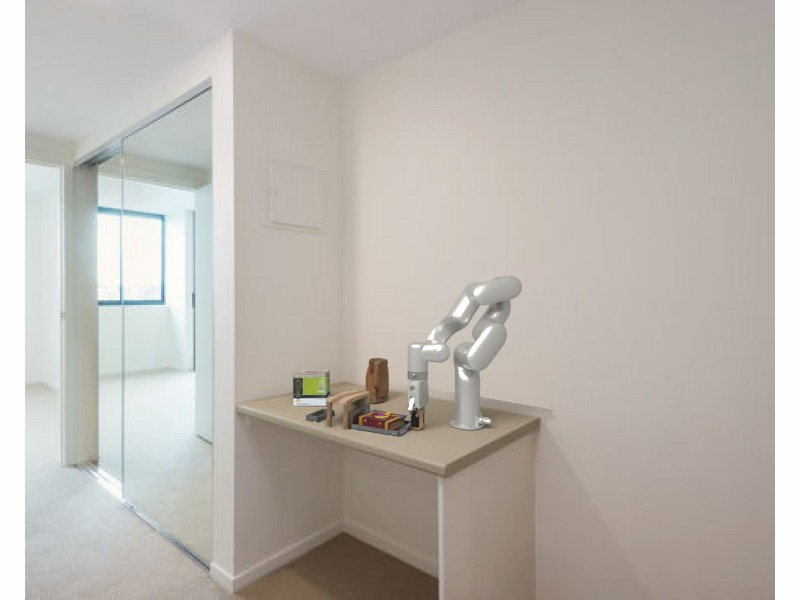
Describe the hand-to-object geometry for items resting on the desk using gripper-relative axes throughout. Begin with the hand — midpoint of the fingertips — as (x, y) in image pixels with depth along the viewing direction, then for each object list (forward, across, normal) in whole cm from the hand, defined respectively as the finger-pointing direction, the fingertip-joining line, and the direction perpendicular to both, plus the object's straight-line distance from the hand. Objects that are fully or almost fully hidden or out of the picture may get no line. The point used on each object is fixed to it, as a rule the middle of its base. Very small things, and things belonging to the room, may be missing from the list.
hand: (417, 424), depth 156 cm
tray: (+1, -4, +11) cm, 12 cm away
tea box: (+2, +12, +58) cm, 59 cm away
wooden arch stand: (+2, -4, +27) cm, 28 cm away
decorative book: (+2, -3, +14) cm, 14 cm away
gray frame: (+2, -4, +41) cm, 41 cm away
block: (+2, +28, +33) cm, 43 cm away
